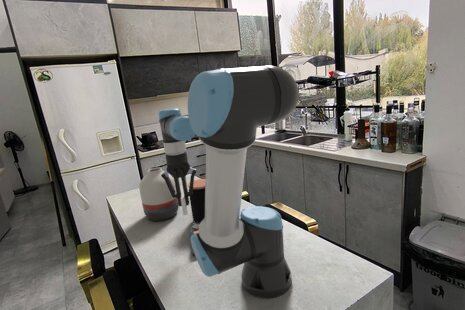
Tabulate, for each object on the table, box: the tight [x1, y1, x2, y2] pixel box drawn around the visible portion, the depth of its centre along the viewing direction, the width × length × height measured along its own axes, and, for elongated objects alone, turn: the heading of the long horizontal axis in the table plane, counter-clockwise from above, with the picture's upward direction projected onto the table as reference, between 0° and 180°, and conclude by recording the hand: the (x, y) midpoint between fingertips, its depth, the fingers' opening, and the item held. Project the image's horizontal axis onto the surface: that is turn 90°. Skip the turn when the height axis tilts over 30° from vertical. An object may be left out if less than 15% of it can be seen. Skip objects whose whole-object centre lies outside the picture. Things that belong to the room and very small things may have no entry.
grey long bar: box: [190, 221, 201, 257], centre depth 111 cm, size 20×5×3 cm, turn 11°
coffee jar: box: [187, 178, 205, 223], centre depth 127 cm, size 11×11×18 cm
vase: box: [138, 167, 180, 222], centre depth 135 cm, size 17×17×24 cm
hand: (185, 213), depth 105 cm, fingers closed
